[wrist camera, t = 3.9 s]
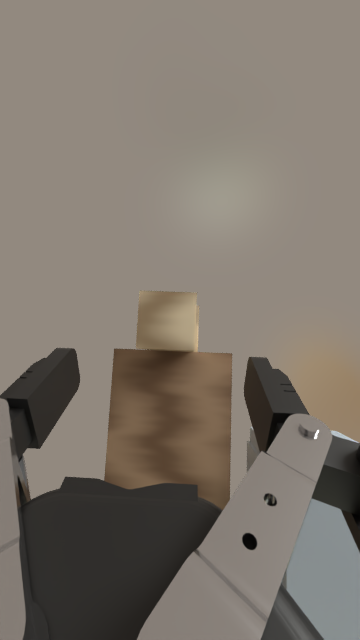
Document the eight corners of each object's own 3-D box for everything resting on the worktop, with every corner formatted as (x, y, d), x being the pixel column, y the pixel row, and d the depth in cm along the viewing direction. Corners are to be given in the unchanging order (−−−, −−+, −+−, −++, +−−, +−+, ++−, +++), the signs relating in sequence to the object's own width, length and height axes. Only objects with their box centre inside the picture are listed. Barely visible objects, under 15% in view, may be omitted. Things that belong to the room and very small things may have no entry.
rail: (124, 347, 14) (130, 269, 15) (156, 350, 29) (158, 312, 29) (206, 351, 14) (208, 272, 14) (195, 352, 29) (196, 313, 29)
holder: (291, 1016, 13) (285, 472, 16) (244, 725, 23) (247, 426, 26) (481, 1038, 12) (436, 480, 16) (350, 733, 22) (339, 431, 25)
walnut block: (79, 812, 18) (114, 348, 22) (109, 684, 25) (131, 349, 29) (224, 826, 18) (232, 353, 22) (213, 692, 25) (220, 353, 29)
